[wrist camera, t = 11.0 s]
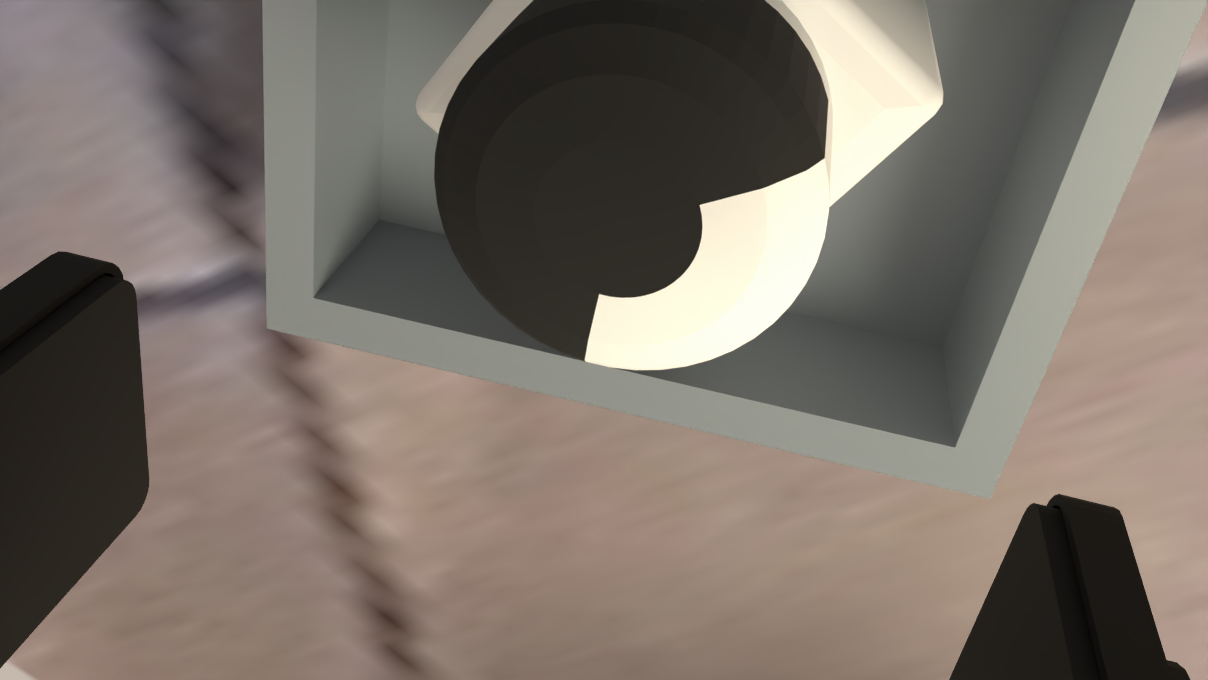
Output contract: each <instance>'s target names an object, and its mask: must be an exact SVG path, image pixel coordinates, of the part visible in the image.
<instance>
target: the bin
mask: <svg viewBox="0 0 1208 680" xmlns="http://www.w3.org/2000/svg"><path fill="white" fill-rule="evenodd" d="M492 1H493V0H262V21H263V92H264V163H265V233H266V304H267V329H271V330H275V331H280V332H284V333H288V334H292V335H297V336H301V337H305V338H309V339H314V340H318V341H322V342H326V343H331V344H335V345H339V346H343V347H347V348H352V349H356V350H360V351H364V352H369V353H373V354H377V355H381V356H386V357H390V358H394V359H398V360H402V361H407V362H411V363H415V364H419V365H424V366H428V367H432V368H436V369H441V370H445V371H449V372H453V373H458V374H462V375H466V376H470V377H474V378H479V379H483V380H487V381H491V382H496V383H500V384H504V385H508V386H513V387H517V388H521V389H525V390H529V391H534V392H538V393H542V394H546V395H551V396H555V397H559V398H563V399H568V400H572V401H576V402H580V403H585V404H589V405H593V406H597V407H601V408H606V409H610V410H614V411H618V412H623V413H627V414H631V415H635V416H640V417H644V418H648V419H652V420H656V421H661V422H665V423H669V424H673V425H678V426H682V427H686V428H690V429H695V430H699V431H703V432H707V433H712V434H716V435H720V436H724V437H728V438H733V439H737V440H741V441H745V442H750V443H754V444H758V445H762V446H767V447H771V448H775V449H779V450H783V451H788V452H792V453H796V454H800V455H805V456H809V457H813V458H817V459H822V460H826V461H830V462H834V463H839V464H843V465H847V466H851V467H855V468H860V469H864V470H868V471H872V472H877V473H881V474H885V475H889V476H894V477H898V478H902V479H906V480H910V481H915V482H919V483H923V484H927V485H932V486H936V487H940V488H944V489H949V490H953V491H957V492H961V493H966V494H970V495H974V496H978V497H982V498H987V499H990V498H991V495H992V493H993V491H994V489H995V486H996V484H997V482H998V479H999V477H1000V475H1001V473H1002V470H1003V468H1004V466H1005V463H1006V461H1007V459H1008V457H1009V454H1010V452H1011V450H1012V447H1013V445H1014V443H1015V441H1016V438H1017V436H1018V434H1019V431H1020V429H1021V427H1022V425H1023V422H1024V420H1025V418H1026V415H1027V413H1028V411H1029V409H1030V406H1031V404H1032V402H1033V399H1034V397H1035V395H1036V393H1037V390H1038V388H1039V386H1040V383H1041V381H1042V379H1043V377H1044V374H1045V372H1046V370H1047V367H1048V365H1049V363H1050V361H1051V358H1052V356H1053V354H1054V351H1055V349H1056V347H1057V344H1058V342H1059V340H1060V338H1061V335H1062V333H1063V331H1064V328H1065V326H1066V324H1067V322H1068V319H1069V317H1070V315H1071V312H1072V310H1073V308H1074V306H1075V303H1076V301H1077V299H1078V296H1079V294H1080V292H1081V290H1082V287H1083V285H1084V283H1085V280H1086V278H1087V276H1088V274H1089V271H1090V269H1091V267H1092V264H1093V262H1094V260H1095V258H1096V255H1097V253H1098V251H1099V248H1100V246H1101V244H1102V242H1103V239H1104V237H1105V235H1106V232H1107V230H1108V228H1109V226H1110V223H1111V221H1112V219H1113V216H1114V214H1115V212H1116V210H1117V207H1118V205H1119V203H1120V200H1121V198H1122V196H1123V194H1124V191H1125V189H1126V187H1127V184H1128V182H1129V180H1130V177H1131V175H1132V173H1133V171H1134V168H1135V166H1136V164H1137V161H1138V159H1139V157H1140V155H1141V152H1142V150H1143V148H1144V145H1145V143H1146V141H1147V139H1148V136H1149V134H1150V132H1151V129H1152V127H1153V125H1154V123H1155V120H1156V118H1157V116H1158V113H1159V111H1160V109H1161V107H1162V104H1163V102H1164V100H1165V97H1166V95H1167V93H1168V91H1169V88H1170V86H1171V84H1172V81H1173V79H1174V77H1175V75H1176V72H1177V70H1178V68H1179V65H1180V63H1181V61H1182V59H1183V56H1184V54H1185V52H1186V49H1187V47H1188V45H1189V43H1190V40H1191V38H1192V36H1193V33H1194V31H1195V29H1196V27H1197V24H1198V22H1199V20H1200V17H1201V15H1202V13H1203V10H1204V8H1205V6H1206V4H1207V1H1208V0H925V1H926V6H927V11H928V16H929V22H930V27H931V32H932V37H933V42H934V47H935V52H936V57H937V63H938V68H939V73H940V78H941V83H942V88H943V104H942V105H941V107H940V108H939V110H938V111H937V113H936V114H935V115H934V116H933V117H932V118H930V119H929V120H928V121H927V122H926V123H925V124H924V125H922V126H921V127H920V128H919V129H918V130H917V131H916V132H915V133H913V134H912V135H911V136H910V137H909V138H908V139H907V140H905V141H904V142H903V143H902V144H901V145H900V146H899V147H897V148H896V149H895V150H894V151H893V152H892V153H891V154H889V155H888V156H887V157H886V158H885V159H884V160H883V161H882V162H880V163H879V164H878V165H877V166H876V167H875V168H874V169H872V170H871V171H870V172H869V173H868V174H867V175H866V176H864V177H863V178H862V179H861V180H860V181H859V182H858V183H857V184H855V185H854V186H853V187H852V188H851V189H850V190H849V191H847V192H846V193H845V194H844V195H843V196H842V197H841V198H839V199H838V200H837V201H836V202H835V203H834V204H833V205H832V206H830V207H829V214H828V220H827V226H826V233H825V238H824V241H823V245H822V248H821V251H820V254H819V257H818V260H817V263H816V265H815V267H814V269H813V271H812V273H811V275H810V277H809V279H808V281H807V283H806V285H805V286H804V287H803V289H802V290H801V292H800V293H799V294H798V296H797V297H796V299H795V300H794V302H793V303H792V304H791V306H790V307H789V308H788V309H787V310H786V311H785V312H784V313H783V314H782V315H781V316H780V317H779V318H778V319H777V320H776V321H775V322H774V323H773V324H772V325H771V326H769V327H768V328H767V329H765V330H764V331H763V332H762V333H760V334H759V335H758V336H756V337H755V338H754V339H752V340H750V341H749V342H747V343H745V344H743V345H742V346H740V347H738V348H737V349H735V350H733V351H731V352H728V353H726V354H723V355H721V356H719V357H716V358H714V359H711V360H708V361H705V362H701V363H697V364H693V365H689V366H686V367H678V368H671V369H664V370H629V369H620V368H611V367H606V366H602V365H597V364H593V363H589V362H585V361H582V360H579V359H576V358H574V357H571V356H568V355H565V354H562V353H560V352H558V351H556V350H554V349H552V348H550V347H548V346H546V345H544V344H542V343H540V342H538V341H536V340H535V339H533V338H532V337H530V336H529V335H527V334H526V333H524V332H522V331H521V330H519V329H518V328H516V327H515V326H514V325H513V324H512V323H510V322H509V321H508V320H507V319H506V318H504V317H503V316H502V315H501V314H499V313H498V312H497V311H496V310H495V309H494V308H493V307H492V306H491V304H490V303H489V302H488V301H487V300H486V299H485V298H484V297H483V296H482V295H481V294H480V293H479V291H478V290H477V289H476V287H475V286H474V285H473V283H472V282H471V281H470V279H469V278H468V277H467V275H466V274H465V272H464V271H463V269H462V267H461V265H460V264H459V262H458V260H457V258H456V256H455V255H454V253H453V251H452V249H451V246H450V244H449V241H448V239H447V236H446V234H445V231H444V229H443V225H442V222H441V218H440V214H439V210H438V206H437V200H436V191H435V182H434V167H435V150H436V145H437V139H438V133H436V132H435V131H434V130H433V129H432V128H431V127H429V126H428V125H427V124H426V123H425V122H424V121H422V119H421V118H420V117H419V115H418V114H417V111H416V100H417V98H418V95H419V93H420V91H421V90H422V89H423V88H424V86H425V85H426V84H427V83H428V81H429V80H430V79H431V78H432V76H433V75H434V74H435V72H436V71H437V70H438V69H439V67H440V66H441V65H442V64H443V62H444V61H445V60H446V59H447V57H448V56H449V55H450V54H451V52H452V51H453V50H454V49H455V47H456V46H457V45H458V44H459V42H460V41H461V40H462V39H463V37H464V36H465V35H466V34H467V32H468V31H469V30H470V29H471V27H472V26H473V25H474V24H475V22H476V21H477V20H478V18H479V17H480V16H481V15H482V13H483V12H484V11H485V10H486V8H487V7H488V6H489V5H490V3H491V2H492Z"/></svg>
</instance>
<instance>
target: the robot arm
mask: <svg viewBox="0 0 1208 680" xmlns="http://www.w3.org/2000/svg"><path fill="white" fill-rule="evenodd" d="M148 488H149V470H148V456H147V442H146V428H145V413H144V399H143V385H142V371H141V357H140V343H139V329H138V314H137V300H136V293H135V289H134V287H133V285H132V284H131V283H130V282H129V281H126V280H124V279H123V274H122V272H121V271H120V269H119V267H118V266H116V265H115V264H113V263H110V262H106V261H102V260H97V259H93V258H89V257H85V256H81V255H77V254H73V253H69V252H57V253H55V254H52V255H50V256H49V257H48V258H46V259H45V260H43V261H42V262H40V263H39V264H37V265H36V266H34V267H33V268H32V269H30V270H29V271H27V272H26V273H24V274H23V275H21V276H20V277H19V278H17V279H16V280H14V281H13V282H11V283H10V284H8V285H7V286H5V287H4V288H3V289H1V290H0V668H1V667H2V666H3V664H4V663H5V662H6V661H7V660H8V659H9V658H10V657H11V656H12V654H13V653H14V652H15V651H16V650H17V649H18V648H19V647H20V646H21V644H22V643H23V642H24V641H25V640H26V639H27V638H28V637H29V635H30V634H31V633H32V632H33V631H34V630H35V629H36V628H37V626H38V625H39V624H40V623H41V622H42V621H43V620H44V619H45V617H46V616H47V615H48V614H49V613H50V612H51V611H52V610H53V608H54V607H55V606H56V605H57V604H58V603H59V602H60V601H61V599H62V598H63V597H64V596H65V595H66V594H67V593H68V592H69V590H70V589H71V588H72V587H73V586H74V585H75V584H76V583H77V582H78V580H79V579H80V578H81V577H82V576H83V575H84V574H85V573H86V571H87V570H88V569H89V568H90V567H91V566H92V565H93V564H94V562H95V561H96V560H97V559H98V558H99V557H100V556H101V555H102V553H103V552H104V551H105V550H106V549H107V548H108V547H109V546H110V544H111V543H112V542H113V541H114V540H115V539H116V538H117V537H118V535H119V534H120V533H121V532H122V531H123V530H124V529H125V528H126V526H127V525H128V524H129V523H130V522H131V521H132V520H133V519H134V518H135V516H136V515H137V514H138V512H139V511H140V510H141V508H142V506H143V504H144V502H145V499H146V496H147V493H148ZM949 680H1190V678H1189V676H1188V674H1187V672H1186V670H1185V669H1184V668H1183V667H1181V666H1180V665H1179V664H1178V663H1176V662H1172V661H1168V660H1166V658H1165V654H1164V651H1163V648H1162V644H1161V641H1160V638H1159V635H1158V631H1157V628H1156V625H1155V622H1154V618H1153V615H1152V612H1151V608H1150V605H1149V602H1148V599H1147V595H1146V592H1145V589H1144V586H1143V582H1142V579H1141V576H1140V573H1139V569H1138V566H1137V563H1136V559H1135V556H1134V553H1133V550H1132V546H1131V543H1130V540H1129V537H1128V533H1127V530H1126V527H1125V523H1124V520H1123V517H1122V515H1121V513H1120V511H1119V510H1118V509H1116V508H1114V507H1110V506H1106V505H1102V504H1097V503H1093V502H1089V501H1085V500H1081V499H1077V498H1073V497H1069V496H1065V495H1061V494H1058V495H1055V496H1053V498H1052V499H1051V500H1050V501H1049V502H1048V504H1047V506H1043V505H1039V504H1035V503H1033V504H1031V505H1030V506H1029V507H1028V508H1027V509H1026V511H1025V513H1024V515H1023V517H1022V519H1021V521H1020V524H1019V526H1018V528H1017V530H1016V533H1015V535H1014V537H1013V539H1012V541H1011V544H1010V546H1009V548H1008V550H1007V553H1006V555H1005V557H1004V559H1003V561H1002V564H1001V566H1000V568H999V570H998V573H997V575H996V577H995V579H994V581H993V584H992V586H991V588H990V590H989V593H988V595H987V597H986V599H985V601H984V604H983V606H982V608H981V610H980V613H979V615H978V617H977V619H976V621H975V624H974V626H973V628H972V630H971V633H970V635H969V637H968V639H967V641H966V644H965V646H964V648H963V650H962V653H961V655H960V657H959V659H958V661H957V664H956V666H955V668H954V670H953V672H952V675H951V677H950V679H949Z"/></svg>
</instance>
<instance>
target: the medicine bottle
mask: <svg viewBox="0 0 1208 680" xmlns="http://www.w3.org/2000/svg"><path fill="white" fill-rule="evenodd" d="M942 104H943V88H942V83H941V78H940V73H939V68H938V63H937V57H936V52H935V47H934V42H933V37H932V32H931V27H930V22H929V16H928V11H927V6H926V1H925V0H493V1H492V2H491V3H490V5H489V6H488V7H487V8H486V10H485V11H484V12H483V13H482V15H481V16H480V17H479V18H478V20H477V21H476V22H475V24H474V25H473V26H472V27H471V29H470V30H469V31H468V32H467V34H466V35H465V36H464V37H463V39H462V40H461V41H460V42H459V44H458V45H457V46H456V47H455V49H454V50H453V51H452V52H451V54H450V55H449V56H448V57H447V59H446V60H445V61H444V62H443V64H442V65H441V66H440V67H439V69H438V70H437V71H436V72H435V74H434V75H433V76H432V78H431V79H430V80H429V81H428V83H427V84H426V85H425V86H424V88H423V89H422V90H421V91H420V93H419V95H418V98H417V100H416V111H417V114H418V115H419V117H420V118H421V119H422V121H424V122H425V123H426V124H427V125H428V126H429V127H431V128H432V129H433V130H434V131H435V132H436V133H438V139H437V145H436V150H435V167H434V182H435V191H436V200H437V206H438V210H439V214H440V218H441V222H442V225H443V229H444V231H445V234H446V236H447V239H448V241H449V244H450V246H451V249H452V251H453V253H454V255H455V256H456V258H457V260H458V262H459V264H460V265H461V267H462V269H463V271H464V272H465V274H466V275H467V277H468V278H469V279H470V281H471V282H472V283H473V285H474V286H475V287H476V289H477V290H478V291H479V293H480V294H481V295H482V296H483V297H484V298H485V299H486V300H487V301H488V302H489V303H490V304H491V306H492V307H493V308H494V309H495V310H496V311H497V312H498V313H499V314H501V315H502V316H503V317H504V318H506V319H507V320H508V321H509V322H510V323H512V324H513V325H514V326H515V327H516V328H518V329H519V330H521V331H522V332H524V333H526V334H527V335H529V336H530V337H532V338H533V339H535V340H536V341H538V342H540V343H542V344H544V345H546V346H548V347H550V348H552V349H554V350H556V351H558V352H560V353H562V354H565V355H568V356H571V357H574V358H576V359H579V360H582V361H585V362H589V363H593V364H597V365H602V366H606V367H611V368H620V369H629V370H664V369H671V368H678V367H686V366H689V365H693V364H697V363H701V362H705V361H708V360H711V359H714V358H716V357H719V356H721V355H723V354H726V353H728V352H731V351H733V350H735V349H737V348H738V347H740V346H742V345H743V344H745V343H747V342H749V341H750V340H752V339H754V338H755V337H756V336H758V335H759V334H760V333H762V332H763V331H764V330H765V329H767V328H768V327H769V326H771V325H772V324H773V323H774V322H775V321H776V320H777V319H778V318H779V317H780V316H781V315H782V314H783V313H784V312H785V311H786V310H787V309H788V308H789V307H790V306H791V304H792V303H793V302H794V300H795V299H796V297H797V296H798V294H799V293H800V292H801V290H802V289H803V287H804V286H805V285H806V283H807V281H808V279H809V277H810V275H811V273H812V271H813V269H814V267H815V265H816V263H817V260H818V257H819V254H820V251H821V248H822V245H823V241H824V238H825V233H826V226H827V220H828V214H829V207H830V206H832V205H833V204H834V203H835V202H836V201H837V200H838V199H839V198H841V197H842V196H843V195H844V194H845V193H846V192H847V191H849V190H850V189H851V188H852V187H853V186H854V185H855V184H857V183H858V182H859V181H860V180H861V179H862V178H863V177H864V176H866V175H867V174H868V173H869V172H870V171H871V170H872V169H874V168H875V167H876V166H877V165H878V164H879V163H880V162H882V161H883V160H884V159H885V158H886V157H887V156H888V155H889V154H891V153H892V152H893V151H894V150H895V149H896V148H897V147H899V146H900V145H901V144H902V143H903V142H904V141H905V140H907V139H908V138H909V137H910V136H911V135H912V134H913V133H915V132H916V131H917V130H918V129H919V128H920V127H921V126H922V125H924V124H925V123H926V122H927V121H928V120H929V119H930V118H932V117H933V116H934V115H935V114H936V113H937V111H938V110H939V108H940V107H941V105H942Z"/></svg>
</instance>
